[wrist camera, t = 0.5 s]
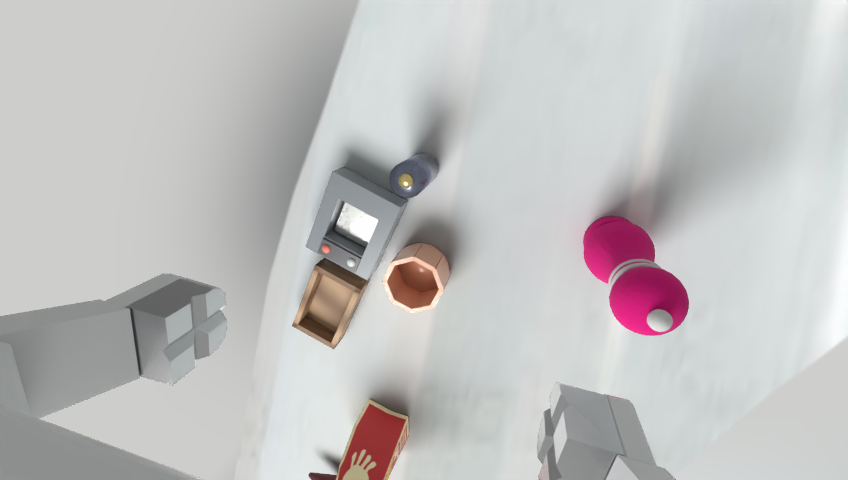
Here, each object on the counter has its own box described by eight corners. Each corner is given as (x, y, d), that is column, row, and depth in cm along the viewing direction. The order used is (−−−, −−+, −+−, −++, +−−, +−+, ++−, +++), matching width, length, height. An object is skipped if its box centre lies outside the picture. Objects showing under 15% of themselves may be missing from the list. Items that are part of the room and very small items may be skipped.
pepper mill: (581, 211, 48) (617, 281, 30) (646, 212, 46) (726, 287, 28) (576, 265, 50) (607, 360, 32) (638, 268, 49) (707, 370, 30)
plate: (349, 196, 54) (346, 197, 53) (383, 214, 54) (381, 216, 53) (336, 228, 56) (334, 230, 56) (369, 246, 56) (367, 248, 55)
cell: (416, 147, 50) (396, 156, 42) (443, 161, 50) (428, 173, 42) (404, 174, 52) (382, 188, 44) (430, 188, 52) (413, 205, 44)
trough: (326, 256, 59) (315, 265, 56) (369, 279, 59) (360, 290, 55) (303, 314, 64) (292, 325, 61) (343, 336, 63) (333, 349, 60)
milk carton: (354, 433, 70) (295, 551, 52) (367, 397, 67) (308, 510, 48) (401, 454, 69) (357, 582, 51) (416, 419, 66) (375, 543, 47)
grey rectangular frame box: (344, 167, 53) (331, 172, 50) (408, 201, 53) (399, 208, 49) (317, 238, 58) (303, 247, 55) (375, 270, 58) (366, 281, 54)
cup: (409, 233, 54) (397, 247, 49) (458, 259, 54) (452, 276, 49) (388, 276, 58) (375, 293, 52) (434, 301, 57) (426, 321, 52)
